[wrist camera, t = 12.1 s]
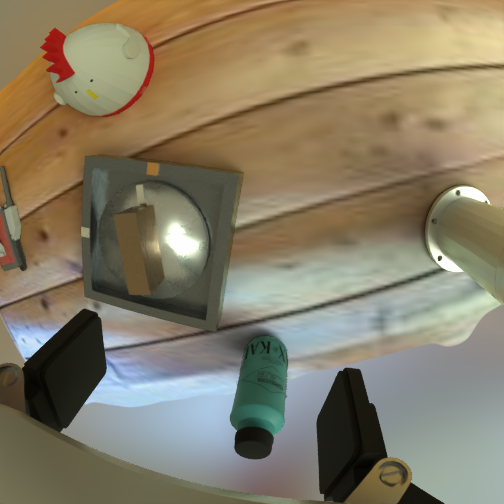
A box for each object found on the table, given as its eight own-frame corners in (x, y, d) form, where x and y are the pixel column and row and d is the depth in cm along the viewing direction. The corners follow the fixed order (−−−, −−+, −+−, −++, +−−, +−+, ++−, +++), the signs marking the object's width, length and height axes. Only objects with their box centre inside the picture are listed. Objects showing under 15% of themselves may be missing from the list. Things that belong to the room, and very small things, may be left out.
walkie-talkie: (36, 266, 47) (10, 163, 41) (21, 274, 43) (-7, 166, 37) (12, 271, 48) (-12, 178, 43) (-2, 280, 44) (-28, 181, 38)
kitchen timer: (88, 133, 38) (16, 135, 24) (67, 62, 35) (0, 46, 20) (167, 86, 35) (109, 60, 21) (139, 13, 32) (84, -28, 18)
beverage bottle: (284, 365, 47) (279, 470, 28) (242, 358, 47) (219, 461, 28) (292, 331, 45) (291, 439, 26) (247, 325, 45) (223, 429, 26)
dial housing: (243, 172, 38) (238, 175, 34) (221, 317, 45) (215, 332, 41) (100, 154, 39) (84, 156, 35) (97, 286, 46) (84, 297, 42)
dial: (216, 295, 41) (205, 318, 36) (114, 294, 43) (94, 313, 38) (202, 174, 36) (187, 179, 31) (94, 188, 38) (68, 196, 33)
